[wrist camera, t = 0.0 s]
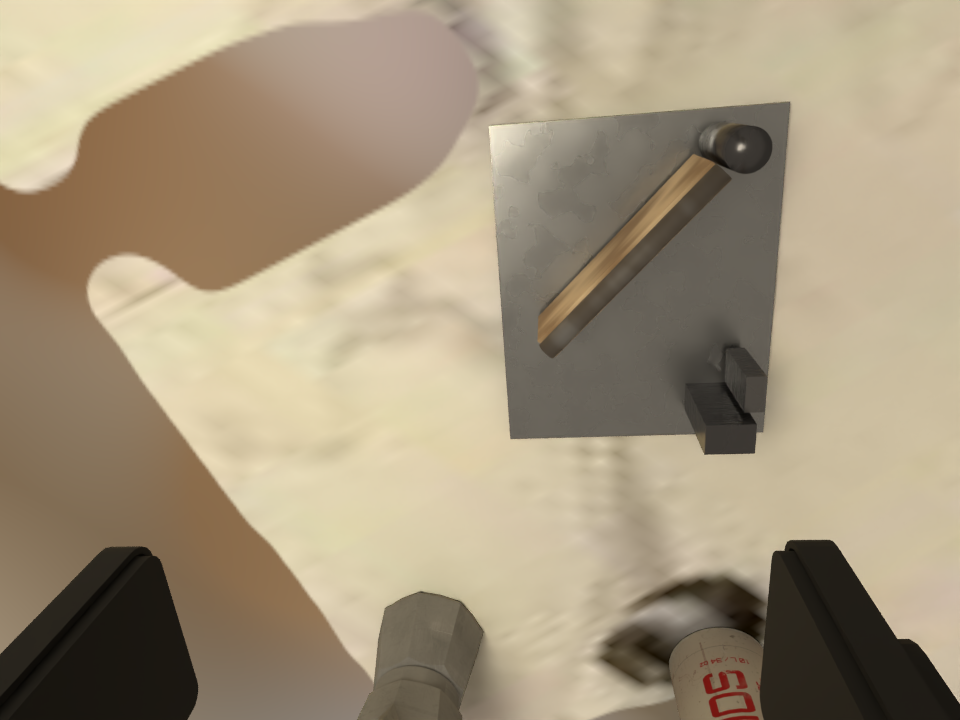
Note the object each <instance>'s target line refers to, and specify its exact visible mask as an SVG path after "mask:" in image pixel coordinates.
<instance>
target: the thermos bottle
mask: <svg viewBox="0 0 960 720" xmlns="http://www.w3.org/2000/svg"><path fill="white" fill-rule="evenodd" d="M762 660H763V647H762V646H761V645H760V644H759V643H758V641H756V640H755V639H754V638H753V637H751V636H750V635H748V634H746V633H744V632H742V631H739V630H736V629H731V628H725V627H714V628H707V629H703V630H700V631H696V632H694V633H692V634H690V635H688V636H687V637H685V638H684V639H683V640H681V641H680V642H679V643H678V644H677V646H676V647H675V648H674V650H673V652H672V654H671V657H670V660H669V671H670V675H671V680H672V684H673V689H674V694H675V698H676V703H677V708H678V712H679V717H680V720H764V719H763V715H762V711H761V705H760V682H761V671H762Z"/></svg>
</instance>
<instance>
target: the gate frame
mask: <svg viewBox="0 0 960 720" xmlns="http://www.w3.org/2000/svg"><path fill="white" fill-rule="evenodd" d="M789 108H790V102H780V103H767V104H755V105H742V106H730V107H717V108H705V109H692V110H679V111H667V112H654V113H642V114H629V115H617V116H604V117H592V118H579V119H567V120H554V121H542V122H529V123H516V124H504V125H491V126H489V136H490V151H491V165H492V179H493V194H494V208H495V222H496V237H497V251H498V266H499V280H500V294H501V309H502V323H503V337H504V352H505V366H506V381H507V395H508V409H509V424H510V438H511V439H527V438H565V437H603V436H641V435H679V434H696V436H697V439H698V441H699V443H700V445H701V448H702V450H703V452H704V455H707V454H750V453H755V444H756V432H763V427H764V415H765V402H766V390H767V378H768V366H769V353H770V341H771V329H772V316H773V304H774V292H775V280H776V267H777V255H778V243H779V231H780V218H781V206H782V194H783V182H784V169H785V157H786V145H787V133H788V120H789ZM693 154H695V155H697V156H700V157H702V158H705V159H708V160H710V161H712V162H713V163H714V164H717V165H718V166H720V167H721V168H722V169H723V170H724V171H725V172H726V173H727V174H728V175H729V176H730V177H731V178H732V179H731V181H730V182H729V183H728V184H727V185H726V186H725V187H724V188H723V189H722V190H721V191H720V192H719V193H718V194H717V195H716V196H715V197H714V198H713V199H712V200H711V201H710V202H709V203H708V204H707V205H706V206H705V207H704V208H703V209H702V210H701V211H700V212H699V213H698V214H697V215H696V216H695V217H694V218H693V219H692V220H691V221H690V222H689V223H688V224H687V225H686V226H685V227H684V228H683V229H682V230H681V231H680V232H679V233H678V234H677V235H676V236H675V237H674V238H673V239H672V240H671V241H670V242H669V243H668V244H667V245H666V246H665V247H664V248H663V249H662V250H661V251H660V252H659V253H658V254H657V255H656V256H655V257H654V258H653V259H652V260H651V261H650V262H649V263H648V264H647V265H646V266H645V267H644V268H643V269H642V270H641V271H640V272H639V273H638V274H637V275H636V276H635V277H634V278H633V279H632V280H631V281H630V282H629V283H628V284H627V285H626V286H625V287H624V288H623V289H622V290H621V291H620V292H619V293H618V294H617V295H616V296H615V297H614V299H613V300H612V301H611V302H610V303H609V304H608V305H607V306H606V307H605V308H604V309H603V310H602V311H601V312H600V313H599V314H598V315H597V316H596V317H595V318H594V319H593V320H592V321H591V322H590V323H589V324H588V325H587V326H586V327H585V328H584V329H583V330H582V331H581V332H580V333H579V334H578V335H577V336H576V337H575V338H574V339H573V340H572V341H571V342H570V343H569V344H568V345H567V346H566V347H565V348H564V349H563V350H562V351H561V352H560V353H559V354H558V355H557V356H556V357H554V358H550V357H549V356H547V355H546V354H545V353H544V352H543V351H542V350H541V348H540V346H539V344H540V343H539V342H538V341H537V340H538V316H539V315H540V314H541V313H542V312H543V311H544V310H545V309H546V308H547V307H548V306H549V305H550V304H551V303H552V302H553V300H554V299H555V298H556V297H557V296H558V295H559V294H560V293H561V292H562V291H563V290H564V289H565V288H566V287H567V286H568V285H569V284H570V283H571V282H572V281H573V280H574V278H575V277H576V276H577V275H578V274H579V273H580V272H581V271H582V270H583V269H584V268H585V267H586V266H587V265H588V264H589V263H590V262H591V261H592V260H593V259H594V258H595V256H596V255H597V254H598V253H599V252H600V251H601V250H602V249H603V248H604V247H605V246H606V245H607V244H608V243H609V242H610V241H611V240H612V239H613V238H614V237H615V236H616V234H617V233H618V232H619V231H620V230H621V229H622V228H623V227H624V226H625V225H626V224H627V223H628V222H629V221H630V220H631V219H632V218H633V217H634V216H635V215H636V214H637V212H638V211H639V210H640V209H641V208H642V207H643V206H644V205H645V204H646V203H647V202H648V201H649V200H650V199H651V198H652V197H653V196H654V195H655V194H656V193H657V192H658V190H659V189H660V188H661V187H662V186H663V185H664V184H665V183H666V182H667V181H668V180H669V179H670V178H671V177H672V176H673V175H674V174H675V173H676V172H677V171H678V170H679V169H680V167H681V166H682V165H683V164H684V163H685V162H686V161H687V160H688V159H689V158H690V157H691V156H692V155H693Z"/></svg>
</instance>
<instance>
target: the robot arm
mask: <svg viewBox="0 0 960 720" xmlns="http://www.w3.org/2000/svg"><path fill="white" fill-rule="evenodd" d="M197 695H198V683H197V679H196V676H195V673H194V669H193V666H192V662H191V659H190V656H189V653H188V649H187V646H186V643H185V639H184V636H183V633H182V630H181V626H180V623H179V620H178V616H177V613H176V610H175V606H174V603H173V600H172V596H171V593H170V590H169V586H168V583H167V580H166V576H165V573H164V570H163V567H162V564H161V561H160V559H158V558H157V557H156V556H153V555H152V553H151V551H150V550H149V549H147V548H146V547H109V548H105V549H104V550H103V551H101V552H100V553H99V554H98V555H97V556H96V557H95V558H94V559H93V560H92V561H91V562H90V563H89V564H88V565H87V566H86V567H85V568H84V569H83V570H82V571H81V572H80V573H79V574H78V576H76V577H75V578H74V579H73V580H72V581H71V583H70V584H69V585H68V586H67V587H66V588H65V589H64V590H63V591H62V592H61V593H60V594H59V595H58V596H57V597H56V598H55V599H54V600H53V601H52V602H51V603H50V604H49V605H48V606H47V607H46V608H45V609H44V610H43V611H42V612H41V613H40V614H39V615H38V616H37V617H36V619H34V620H33V622H31V623H30V625H28V627H26V628H25V630H24V631H23V632H22V633H21V634H20V635H19V636H18V637H17V638H16V639H15V640H14V641H13V642H12V643H11V644H10V645H9V646H8V647H7V648H6V649H5V650H4V651H3V652H2V653H1V654H0V720H187V719H188V717H189V715H190V714H191V712H192V710H193V708H194V706H195V704H196V700H197ZM760 705H761V711H762V715H763V719H764V720H960V704H959V702H958V701H957V699H956V698H955V696H954V695H953V693H952V692H951V690H950V689H949V688H948V686H947V685H946V683H945V682H944V680H943V679H942V677H941V676H940V674H939V673H938V671H937V670H936V668H935V667H934V665H933V664H932V663H931V661H930V660H929V658H928V657H927V655H926V654H925V653H924V651H923V650H922V649H921V648H920V647H919V646H918V644H916V643H915V642H913V641H911V640H910V639H897V638H896V636H895V635H894V633H893V632H892V630H891V629H890V627H889V625H888V624H887V622H886V621H885V619H884V618H883V616H882V615H881V613H880V612H879V610H878V608H877V607H876V605H875V604H874V602H873V601H872V599H871V598H870V596H869V595H868V593H867V591H866V590H865V588H864V587H863V585H862V584H861V582H860V581H859V579H858V578H857V576H856V574H855V573H854V571H853V570H852V568H851V567H850V565H849V564H848V562H847V561H846V559H845V557H844V556H843V554H842V553H841V551H840V550H839V548H838V547H837V545H836V544H835V543H834V542H833V541H831V540H790V541H788V542H787V544H786V546H785V551H775V552H774V553H773V556H772V563H771V574H770V584H769V595H768V606H767V617H766V628H765V638H764V649H763V660H762V671H761V682H760Z"/></svg>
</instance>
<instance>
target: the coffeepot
mask: <svg viewBox="0 0 960 720" xmlns="http://www.w3.org/2000/svg"><path fill="white" fill-rule="evenodd" d="M482 635H483V631H482V629H481V628H480V626H479V625H478V623H477V622H476V620H475V618H474V617H473V615H472V614H471V613H470V612H469V611H468V610H467V608H465V607H464V606H463V605H462V604H461V602H458V601H456V600H453V599H451V598H448V597H445V596H442V595H438V594H432V593H420V592H419V593H416V594H413V595H410V596H407V597H404V598H402V599H400V600H398V601H397V602H395V603H394V604H393V605H391V606H389V607H387V608H385V611H384V616H383V620H382V625H381V629H380V634H379V639H378V648H377V658H376V668H375V679H374V689H373V692H371V693H370V694H369V696H368V698H367V700H366V702H365V705H364V706H363V708H362V711H361V713H360V715H359V717H358V719H357V720H462V715H461V714H460V712H459V708H460V705H461V701H462V698H463V695H464V692H465V689H466V686H467V683H468V680H469V677H470V674H471V671H472V668H473V665H474V662H475V659H476V656H477V652H478V649H479V645H480V642H481V639H482Z"/></svg>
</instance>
